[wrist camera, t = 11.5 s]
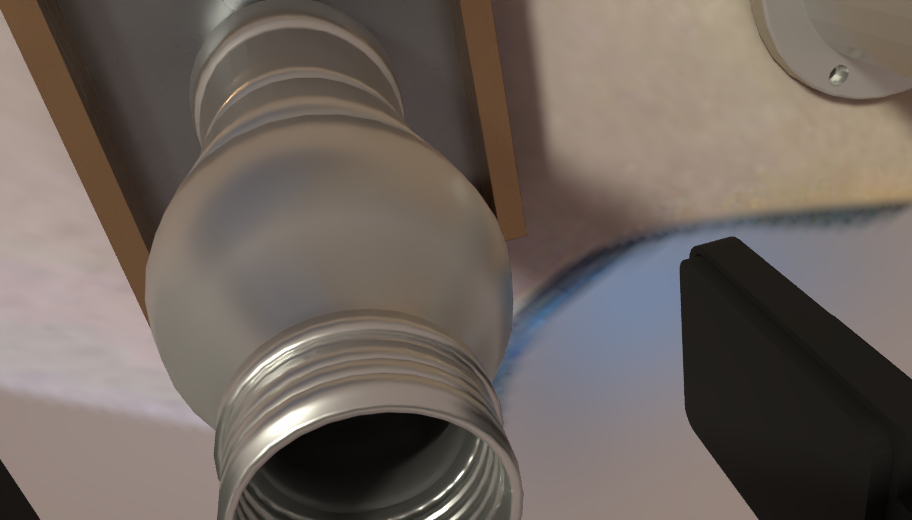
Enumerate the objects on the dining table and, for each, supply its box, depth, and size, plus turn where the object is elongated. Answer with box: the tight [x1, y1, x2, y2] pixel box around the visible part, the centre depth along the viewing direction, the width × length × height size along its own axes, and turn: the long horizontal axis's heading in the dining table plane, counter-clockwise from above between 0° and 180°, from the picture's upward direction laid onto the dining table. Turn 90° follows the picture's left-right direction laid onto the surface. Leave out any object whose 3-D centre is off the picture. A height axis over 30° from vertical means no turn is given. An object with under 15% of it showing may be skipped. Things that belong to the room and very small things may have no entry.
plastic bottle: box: [145, 0, 523, 520], centre depth 17 cm, size 6×7×20 cm
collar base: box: [0, 0, 527, 328], centre depth 25 cm, size 14×14×4 cm
